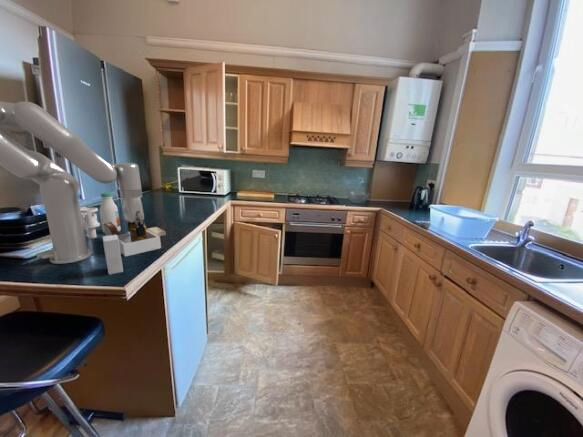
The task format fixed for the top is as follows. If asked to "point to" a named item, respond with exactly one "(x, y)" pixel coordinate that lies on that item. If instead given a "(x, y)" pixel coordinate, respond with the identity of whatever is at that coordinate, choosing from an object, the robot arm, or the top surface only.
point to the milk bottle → (109, 211)
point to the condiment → (133, 233)
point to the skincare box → (112, 254)
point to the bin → (138, 244)
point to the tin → (110, 229)
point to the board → (155, 231)
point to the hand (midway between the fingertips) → (137, 233)
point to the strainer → (90, 220)
